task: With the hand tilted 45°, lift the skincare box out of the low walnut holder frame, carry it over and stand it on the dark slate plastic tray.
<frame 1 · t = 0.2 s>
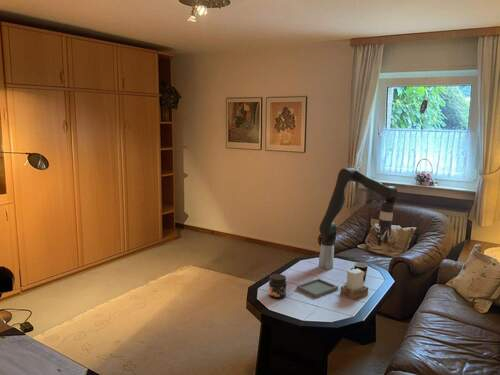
hand: (382, 244, 250), 28 cm above the table, tool pointing down, fingers open, 8 cm apart
tray: (317, 289, 251), on the table
coffee mug: (357, 279, 268), on the table
supplement container: (277, 296, 241), on the table
holder: (354, 294, 245), on the table
skincare box: (354, 294, 246), resting in holder
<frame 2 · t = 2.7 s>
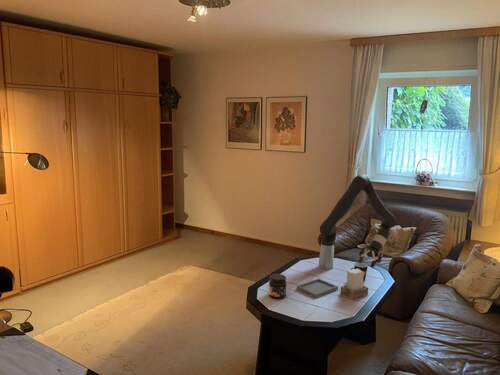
hand: (365, 264, 249), 16 cm above the table, tool tilted 45°, fingers open, 8 cm apart
nothing on the table moved.
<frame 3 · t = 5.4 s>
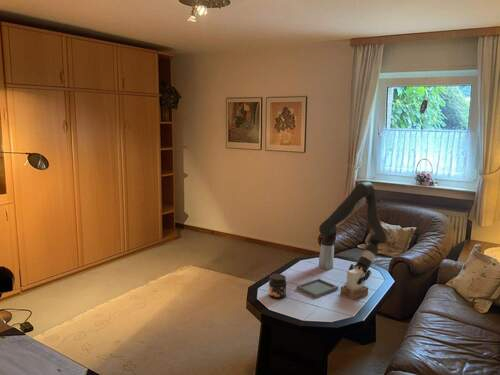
hand: (353, 282, 243), 8 cm above the table, tool tilted 45°, fingers closed on skincare box, 7 cm apart
skincare box: (354, 294, 246), resting in holder, touching gripper
everything else where it was.
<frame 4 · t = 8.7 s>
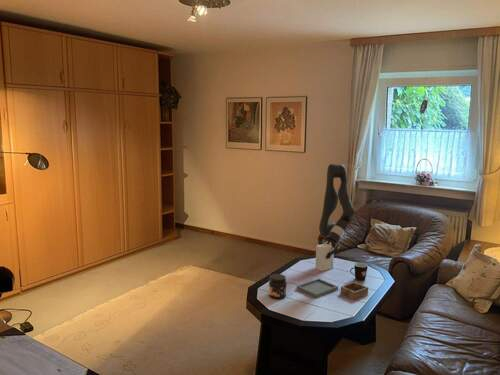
hand: (322, 256, 246), 22 cm above the table, tool tilted 45°, fingers closed on skincare box, 6 cm apart
skincare box: (323, 268, 248), point 14 cm above the table, touching gripper
everything else where it was.
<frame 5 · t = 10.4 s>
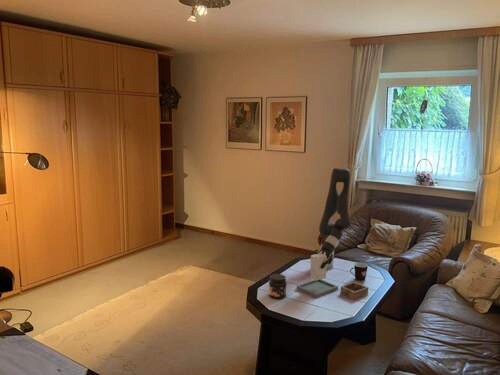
hand: (316, 266, 248), 15 cm above the table, tool tilted 45°, fingers closed on skincare box, 6 cm apart
skincare box: (318, 278, 250), point 7 cm above the table, touching gripper
everything else where it was.
when the fingers open (10 cm above the table, at t = 11.9 s): skincare box drops 1 cm, resting on tray.
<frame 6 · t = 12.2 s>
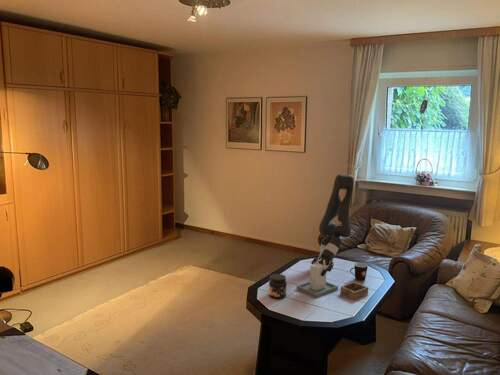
hand: (316, 273, 249), 11 cm above the table, tool tilted 45°, fingers open, 8 cm apart
skincare box: (317, 288, 251), point 1 cm above the table, touching tray
everything else where it was.
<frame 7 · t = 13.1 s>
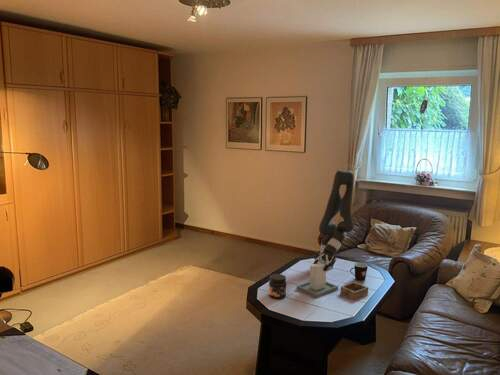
hand: (318, 268, 251), 13 cm above the table, tool tilted 45°, fingers open, 8 cm apart
skincare box: (317, 288, 251), point 1 cm above the table, touching gripper, tray
everything else where it was.
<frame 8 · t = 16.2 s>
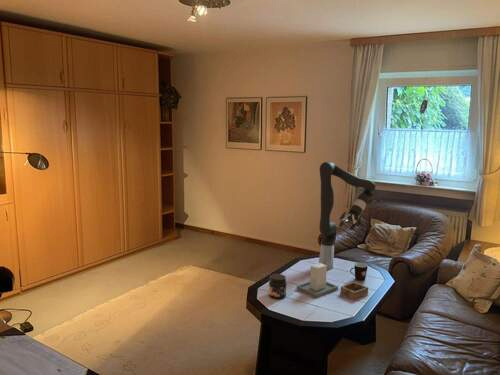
hand: (345, 228, 256), 37 cm above the table, tool tilted 45°, fingers open, 8 cm apart
skincare box: (317, 288, 251), point 1 cm above the table, touching tray
everything else where it was.
at the end: skincare box inside the target area on the tray (0.4 cm from its centre), point 0.8 cm above the tray's base; skincare box tilted 0°; the gripper is holding nothing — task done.
